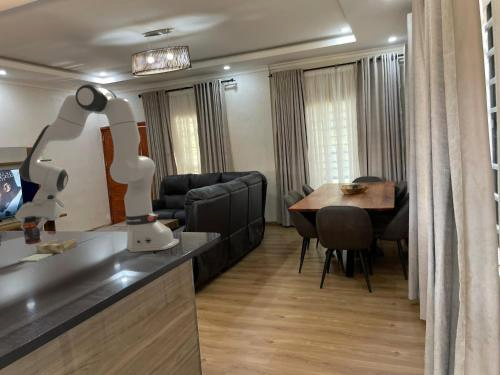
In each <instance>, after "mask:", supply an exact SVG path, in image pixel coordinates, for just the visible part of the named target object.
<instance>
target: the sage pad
mask: <svg viewBox="0 0 500 375" xmlns="http://www.w3.org/2000/svg"><path fill="white" fill-rule="evenodd" d="M53 255H54V253H34V254H32V255H30V256H26V257H24V258H21V259H19V260H18V262H39V261H41V260H44V259H47V258H48V256H49V257H50V256H53Z"/></svg>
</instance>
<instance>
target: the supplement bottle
mask: <svg viewBox="0 0 500 375" xmlns="http://www.w3.org/2000/svg"><path fill="white" fill-rule="evenodd" d="M24 219H25V222H24V223H23V229H22V230H23V236H24V240H25V242H24V244H26V245H36V244H39V243H41V242H42V236H41V228H40V229H37V228H35V226H36V223H39V222H40V221H36V218H35V216H29V217H25V218H24Z"/></svg>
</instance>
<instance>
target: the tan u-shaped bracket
mask: <svg viewBox="0 0 500 375" xmlns="http://www.w3.org/2000/svg"><path fill="white" fill-rule="evenodd" d="M77 247H78V243H77V239H76V238H70V239H68V240H66V241H62V242H60V243H59V240H58V239H51V240H49V241H46V242H45V241H44V242H43V243H40V244H39V243H38V244H37V245H36V246H35V248H36V254H61V253H65V252H66V251H69V250H71V249H73V248H74V249H75V248H77Z"/></svg>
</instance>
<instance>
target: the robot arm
mask: <svg viewBox="0 0 500 375" xmlns="http://www.w3.org/2000/svg"><path fill="white" fill-rule="evenodd" d="M132 107H133V106H132V105H131V103H130V101H129V100H128V99H127V98H124V97H117V95H116V94H115V93H114V92H113V91H111V90H109V89H107V88H104V87H103V86H100V85H99V86H98V85H95V84H82V85H81V86H79V87H78V88H77V90H76V92H75V94H69V95H67V96H66V97H65V99H64V100H63V103H62V104H61V107H60V109H59V111H58V114H57V116H56V118H55V121H54V122H52V123H51V124H47V125H45V127H43V128H42V130H41V131H40V133H39V135H38V136H37V139H36V140H35V142H34V144H33V146H32V147H31V149H30V150H29V152H28V155H27V156H26V157H25V159H24V160H23V162H22V163H21V165H20V167H19V170H18V174H19V175H20V177H21V179H22V180H23V181H24V182H25V181H26V182H30V183H34V184H38V185H40V188H39V189H38V190H37V192H36V194H35V195H34V197H33V199H32V201H27V202H26V203H23V204H22V205H21V206H20V208H19V209H18V210H17V212H16V213H15V215H14V218H15V219H17V220H18V221H19V222H21V225H20V228H21V229H22V230H23V223H24V222H25V219H24V218H25V217H29V216H35V218H36V221H38V222H39V223H36V226H35V228H37V229H40V230H41V228H42V227H43V226H44V225H45V224H46V223H47V222H48V221H57V220H58V219H59V218H60V216H61V214H62V212H63V208H64V207H65V205H66V204H65V203H64V201H63V200H61V199H60V198H59V195H61V193H62V192H63V191H64V190H65V188H66V186H67V184H68V181H69V175H68V173H67V171H66V169H65V168H63V167H61V166H58V165H54V164H51V163H47V162H44V161H41V159H40V158H41V156H42V154H43V152H44V151H45V149H46V147H47V145H48V144H49V143H50V142H54V141H55V142H56V141H58V142H59V141H62V142H63V141H64V142H65V141H66V142H67V141H72V140H76V139H78V138H79V137H81V135H82V132H83V131H84V129H85V125H86V123H87V120H88V117H89V116H90V115H91V114H93V113H94V114H98V115H99V114H100V115H105V116H106V118H107V120H108V121H107V122H108V126H109V130H110V133H111V138H112V143H113V158H112V160H113V161H112V163H111V165H110V167H109V174H110V176H111V179H112V180H113V181H114V182H116V183H118V184H124V185H127V189H126V193H125V195H124V196H123V197H124V198H123V200H124V202H123V203H124V208H125V216H124V217H125V224H126V228H127V229H126V230H127V236H126V237H127V241H126V250H128V251H129V252H130V253H135V252H136V253H137V252H150V251H161V250H162V251H163V250H167V249H168V250H169V249H171V248H172V247H173V248H174V247H175V246H176V245H178V244H179V243H180V239H179V238H174V234H173V231H172V230H171V228H170V227H168V226H166V225H164V224H163V223H161V222H160V221H159V220H158V217H159V213H157V214H156V213H155V212H153V206H152V204H153V203H152V185H153V184H152V183H153V177H154V174H155V172H156V168H157V167H156V163H155V162H154V160H153V159H152V158H150V157H147V156H144V155H139V145H140V143H141V136H140V131H139V127H138V123H137V119H136V116H135V112H134V109H133V108H132Z"/></svg>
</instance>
